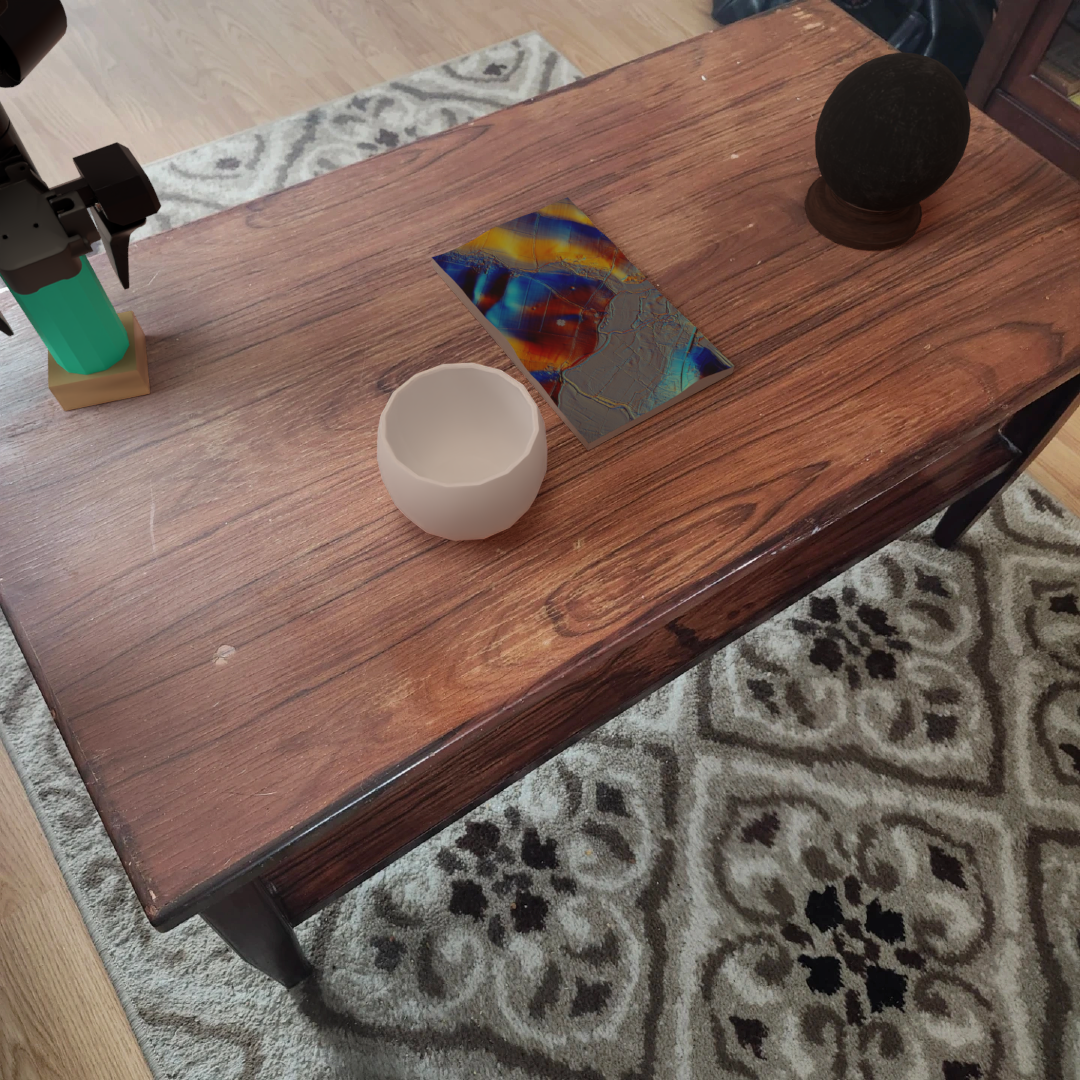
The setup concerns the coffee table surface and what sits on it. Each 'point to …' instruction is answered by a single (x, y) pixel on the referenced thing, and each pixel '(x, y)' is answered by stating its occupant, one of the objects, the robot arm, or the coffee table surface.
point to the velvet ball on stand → (886, 149)
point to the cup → (462, 450)
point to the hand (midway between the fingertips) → (68, 308)
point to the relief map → (580, 321)
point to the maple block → (105, 374)
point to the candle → (76, 322)
